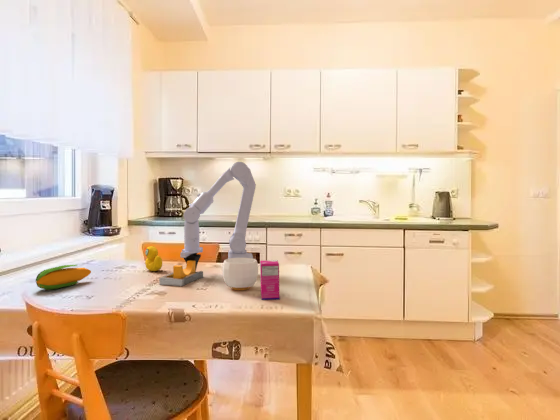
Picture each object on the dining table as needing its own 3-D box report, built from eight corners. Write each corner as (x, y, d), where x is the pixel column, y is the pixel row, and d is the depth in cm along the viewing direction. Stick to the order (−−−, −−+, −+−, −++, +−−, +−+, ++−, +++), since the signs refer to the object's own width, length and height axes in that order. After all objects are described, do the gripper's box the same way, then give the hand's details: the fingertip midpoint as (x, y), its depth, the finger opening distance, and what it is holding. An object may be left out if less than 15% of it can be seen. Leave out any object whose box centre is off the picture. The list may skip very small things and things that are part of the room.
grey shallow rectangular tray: (203, 277, 159) (203, 271, 158) (184, 286, 144) (184, 279, 144) (178, 275, 162) (178, 269, 161) (156, 284, 147) (156, 277, 147)
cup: (255, 283, 149) (255, 256, 149) (261, 292, 137) (261, 263, 137) (221, 285, 147) (220, 258, 146) (223, 294, 135) (223, 264, 134)
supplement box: (260, 295, 133) (260, 259, 133) (278, 294, 134) (278, 259, 133) (260, 300, 128) (260, 263, 127) (279, 299, 128) (280, 263, 127)
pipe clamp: (185, 276, 159) (185, 260, 159) (195, 277, 158) (195, 260, 158) (169, 283, 148) (168, 265, 147) (180, 284, 147) (179, 266, 146)
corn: (29, 268, 137) (83, 258, 154) (29, 290, 138) (83, 278, 155) (43, 272, 133) (96, 262, 151) (42, 295, 134) (96, 282, 152)
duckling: (139, 269, 172) (139, 245, 172) (151, 267, 176) (151, 244, 176) (154, 273, 165) (153, 248, 164) (166, 271, 169) (165, 247, 168)
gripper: (191, 235, 168) (191, 269, 169) (172, 240, 154) (173, 276, 155) (207, 236, 166) (207, 270, 167) (190, 241, 152) (190, 277, 153)
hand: (192, 273), depth 161 cm, fingers closed
